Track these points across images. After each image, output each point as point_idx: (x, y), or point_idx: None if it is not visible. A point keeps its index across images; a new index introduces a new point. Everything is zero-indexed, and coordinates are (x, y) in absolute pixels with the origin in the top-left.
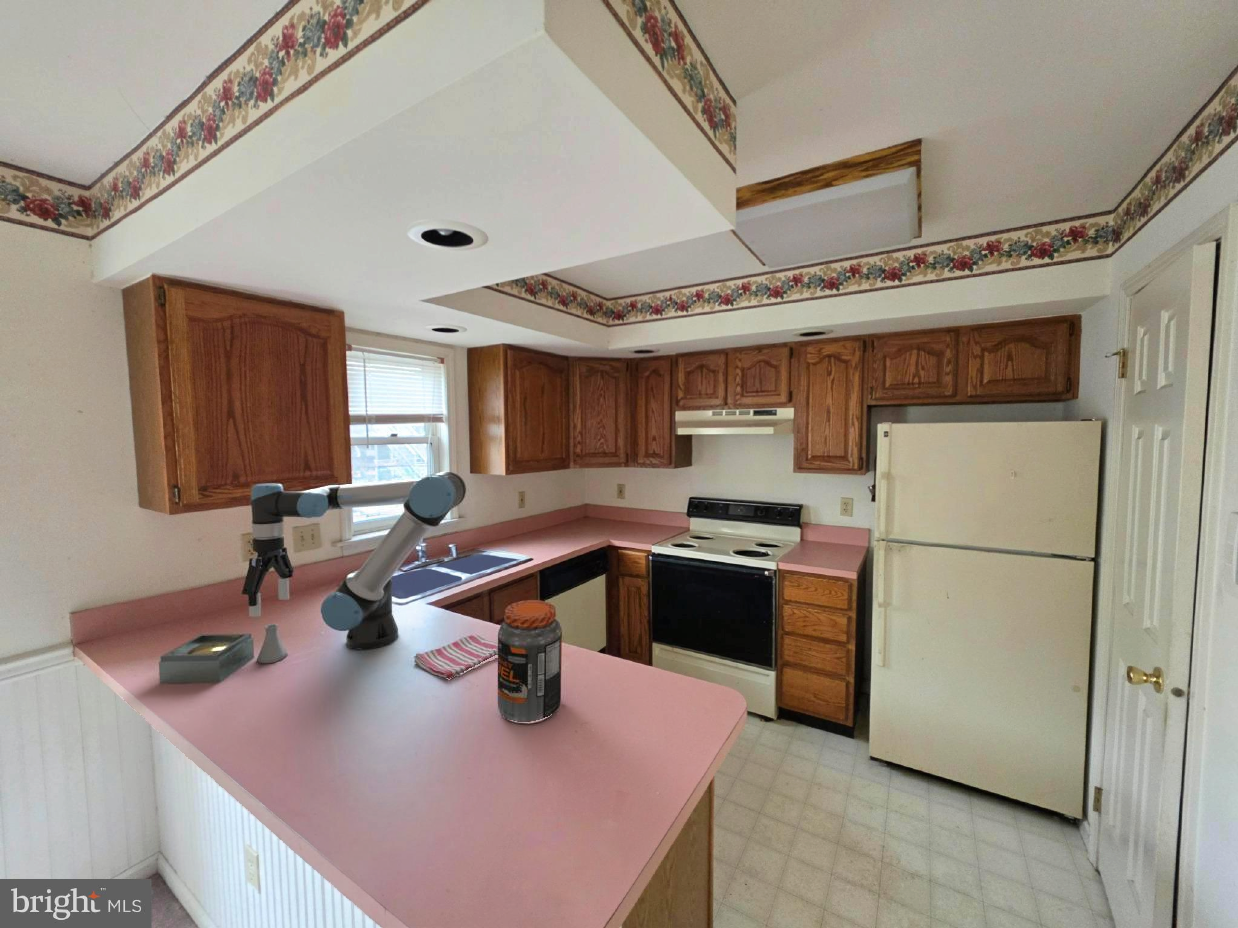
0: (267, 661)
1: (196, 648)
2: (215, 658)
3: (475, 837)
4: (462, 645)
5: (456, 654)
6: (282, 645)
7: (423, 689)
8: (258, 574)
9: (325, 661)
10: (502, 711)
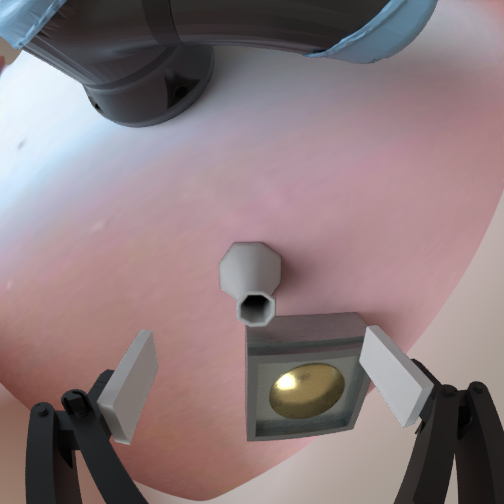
0: (280, 268)
1: (301, 413)
2: None
3: (500, 5)
4: None
5: None
6: (241, 259)
7: None
8: (491, 465)
9: (277, 124)
10: None
